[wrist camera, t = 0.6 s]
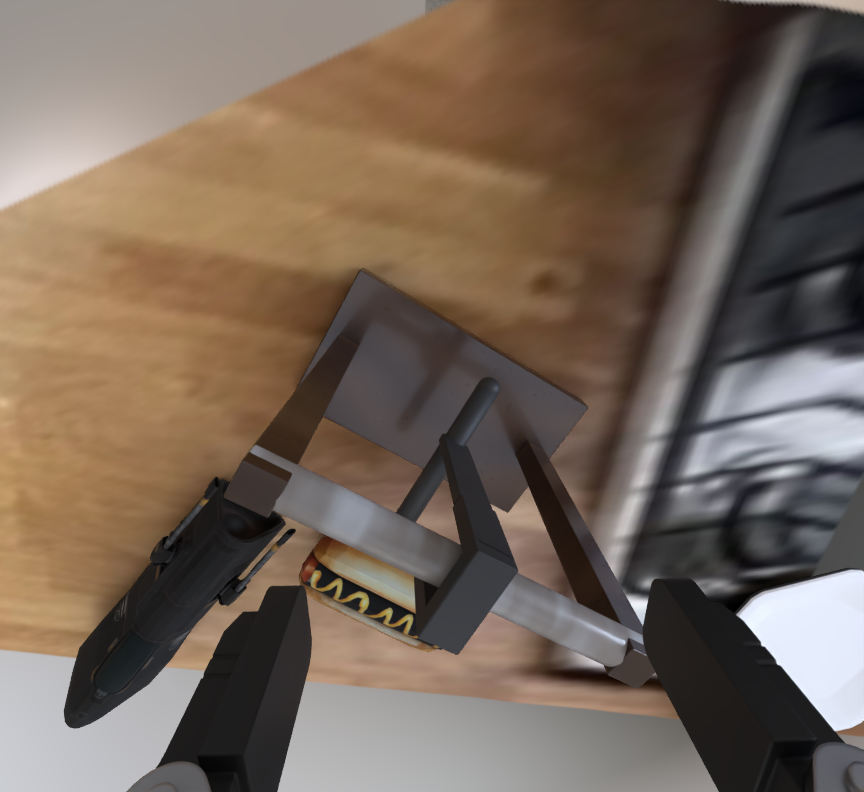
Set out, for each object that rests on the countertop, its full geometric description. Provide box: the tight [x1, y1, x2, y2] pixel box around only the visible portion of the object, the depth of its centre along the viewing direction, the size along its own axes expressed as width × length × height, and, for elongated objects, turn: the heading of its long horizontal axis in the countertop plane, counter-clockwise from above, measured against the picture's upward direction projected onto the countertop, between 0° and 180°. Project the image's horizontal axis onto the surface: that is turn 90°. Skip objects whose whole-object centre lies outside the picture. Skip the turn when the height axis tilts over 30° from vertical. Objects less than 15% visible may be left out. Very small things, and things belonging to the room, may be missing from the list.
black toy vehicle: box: [64, 477, 296, 728], centre depth 34 cm, size 7×25×8 cm, turn 139°
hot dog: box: [299, 536, 442, 652], centre depth 36 cm, size 5×13×5 cm, turn 56°
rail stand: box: [224, 268, 655, 688], centre depth 24 cm, size 10×18×19 cm, turn 59°
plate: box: [734, 568, 864, 731], centre depth 42 cm, size 20×20×2 cm
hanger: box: [396, 377, 518, 655], centre depth 20 cm, size 11×2×11 cm, turn 149°
